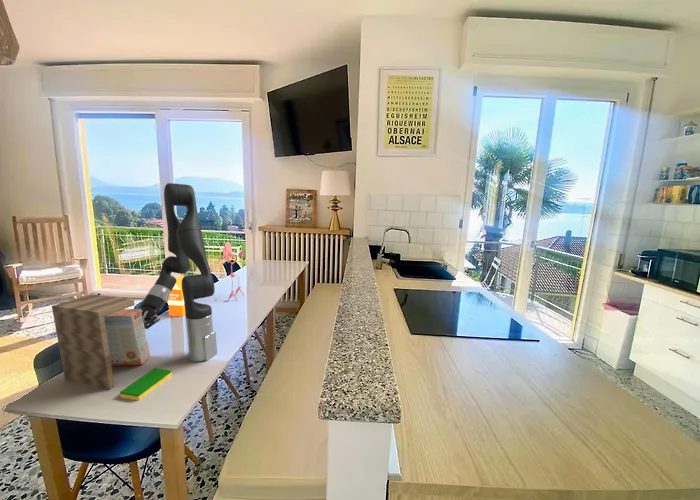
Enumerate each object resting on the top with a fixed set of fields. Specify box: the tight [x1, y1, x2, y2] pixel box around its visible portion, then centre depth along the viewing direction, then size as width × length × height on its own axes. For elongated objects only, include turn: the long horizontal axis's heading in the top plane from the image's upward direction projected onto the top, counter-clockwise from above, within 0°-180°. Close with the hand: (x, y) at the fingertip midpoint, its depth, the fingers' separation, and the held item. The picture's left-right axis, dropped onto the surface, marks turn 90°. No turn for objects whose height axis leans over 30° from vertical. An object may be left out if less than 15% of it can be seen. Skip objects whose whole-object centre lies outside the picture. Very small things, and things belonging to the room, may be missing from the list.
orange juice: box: [167, 274, 185, 317], centre depth 161 cm, size 8×9×20 cm
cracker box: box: [104, 308, 151, 367], centre depth 113 cm, size 14×6×21 cm, turn 92°
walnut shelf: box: [51, 293, 135, 391], centre depth 105 cm, size 20×12×27 cm, turn 76°
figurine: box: [216, 241, 245, 302], centre depth 184 cm, size 15×26×35 cm, turn 175°
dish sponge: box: [119, 367, 173, 402], centre depth 101 cm, size 7×14×2 cm, turn 169°
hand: (132, 338), depth 117 cm, fingers closed
